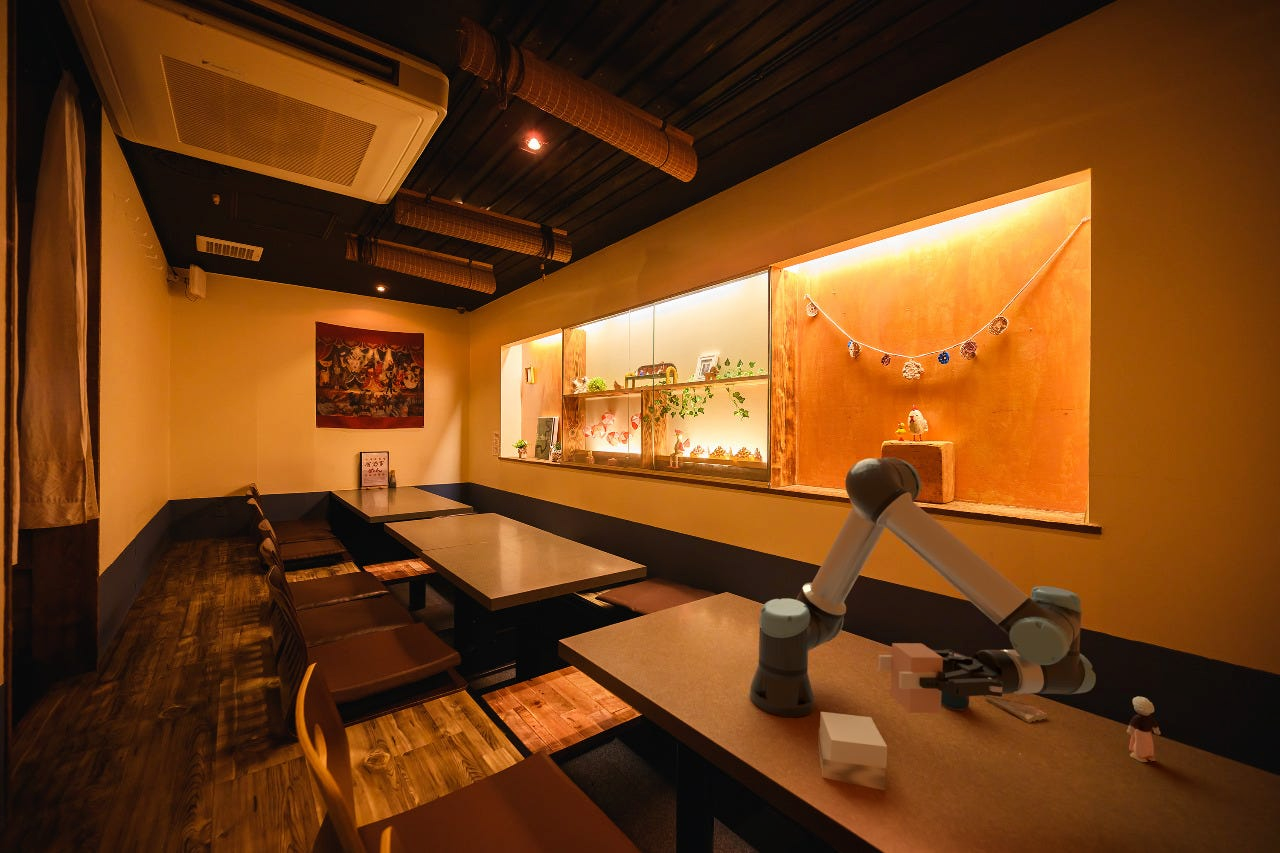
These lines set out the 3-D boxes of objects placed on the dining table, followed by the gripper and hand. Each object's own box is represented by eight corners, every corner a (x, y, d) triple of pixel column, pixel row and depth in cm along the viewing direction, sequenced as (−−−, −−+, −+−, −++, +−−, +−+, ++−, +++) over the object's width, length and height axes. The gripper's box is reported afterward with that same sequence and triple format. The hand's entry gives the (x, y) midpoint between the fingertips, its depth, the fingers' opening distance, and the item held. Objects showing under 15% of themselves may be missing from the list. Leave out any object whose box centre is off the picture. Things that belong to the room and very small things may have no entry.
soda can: (974, 713, 121) (975, 663, 122) (942, 709, 123) (944, 659, 123) (961, 698, 128) (963, 651, 128) (932, 695, 130) (933, 648, 130)
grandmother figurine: (1140, 749, 109) (1141, 690, 110) (1163, 760, 106) (1165, 699, 106) (1118, 756, 107) (1120, 695, 107) (1141, 767, 103) (1143, 705, 103)
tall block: (909, 712, 91) (911, 657, 91) (890, 695, 97) (892, 643, 97) (940, 712, 92) (942, 657, 92) (919, 695, 98) (921, 643, 98)
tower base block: (822, 779, 97) (823, 758, 97) (818, 746, 107) (818, 727, 107) (885, 793, 94) (885, 771, 94) (874, 757, 104) (874, 737, 104)
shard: (983, 701, 129) (983, 693, 129) (1005, 697, 131) (1005, 690, 131) (1027, 725, 118) (1027, 717, 118) (1050, 720, 120) (1050, 712, 120)
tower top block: (830, 761, 96) (831, 739, 96) (820, 730, 106) (820, 711, 106) (886, 768, 95) (887, 746, 95) (870, 736, 104) (870, 717, 105)
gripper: (1049, 720, 87) (921, 720, 85) (968, 667, 105) (862, 667, 104) (1050, 676, 87) (923, 676, 85) (969, 631, 106) (863, 630, 104)
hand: (889, 671), depth 94 cm, fingers closed on tall block, 6 cm apart
